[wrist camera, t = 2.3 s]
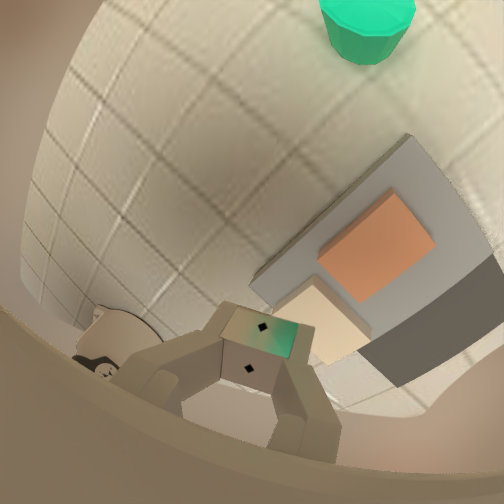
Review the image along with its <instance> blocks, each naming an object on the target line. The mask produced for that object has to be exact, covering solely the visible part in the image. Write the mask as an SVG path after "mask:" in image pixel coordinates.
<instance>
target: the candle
mask: <svg viewBox="0 0 504 504" xmlns="http://www.w3.org/2000/svg"><path fill="white" fill-rule="evenodd" d="M319 3H320V7H321V11H322V14H323V17H324V20H325V24H326V27H327V30H328V34H329V37H330V41H331V45H332V46H333V47H334V48H335V49H336V50H337V52H338V53H339V54H340V55H341V56H342V58H345V59H347V60H349V61H352V62H354V63H356V64H358V65H367V64H377V63H379V62H380V61H382V60H384V59H385V58H387V57H388V56H389V55H390V54H391V52H392V51H393V49H394V48H395V46H396V45H397V44H398V42H399V41H400V39H401V38H402V36H403V35H404V33H405V32H406V31H407V29H408V28H409V26H410V24H411V21H412V19H413V16H414V13H415V10H416V7H415V2H414V0H319Z"/></svg>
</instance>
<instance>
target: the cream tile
mask: <svg viewBox="0 0 504 504" xmlns="http://www.w3.org/2000/svg"><path fill="white" fill-rule="evenodd" d="M271 316H275V317H279V318H282V319H286V320H289V321H293V322H297V323H299V324H300V323H302V324H306V325H310V326H314V327H315V333H314V337H313V342H312V346H311V350H310V351H311V352H312V353H313V354H314V355H316V356H317V357H318V358H319V359H320V360H322V361H323V362H324V363H325V364H326V365H328V366H329V365H331V364H332V363H334V362H336V361H338V360H340V359H342V358H343V357H345V356H347V355H349V354H351V353H352V352H354V351H356V350H357V349H359V348H361V347H363V346H364V345H366V344H368V343H369V342H371V328H370V327H369V326H368V325H367V324H366V323H365V322H364V321H363V320H362V319H361V318H360V317H359V316H358V315H357V314H356V313H355V312H354V311H353V310H352V309H351V308H350V307H349V306H348V305H347V304H346V303H345V302H344V301H343V300H341V299H340V298H339V297H338V296H337V295H336V294H335V293H334V292H333V291H332V290H331V289H330V288H329V287H328V286H327V285H326V284H325V283H324V282H323V281H322V280H321V279H320V278H319V277H318V276H317V275H316V274H314V275H313V276H312V277H311V278H309V279H308V280H307V281H306V282H304V283H303V284H302V285H300V286H299V287H298V288H297V289H295V290H294V291H293V292H292V293H290V294H289V295H288V296H286V297H285V298H284V299H282V300H281V301H280V302H279V303H277V304H276V305H275V307H274V309H273V311H272V314H271ZM298 326H299V325H298ZM296 333H297V332H296Z"/></svg>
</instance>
